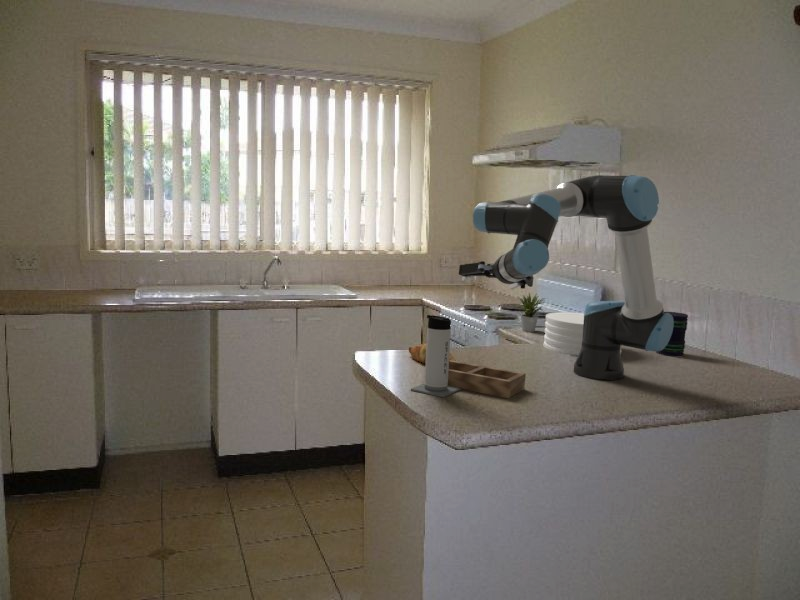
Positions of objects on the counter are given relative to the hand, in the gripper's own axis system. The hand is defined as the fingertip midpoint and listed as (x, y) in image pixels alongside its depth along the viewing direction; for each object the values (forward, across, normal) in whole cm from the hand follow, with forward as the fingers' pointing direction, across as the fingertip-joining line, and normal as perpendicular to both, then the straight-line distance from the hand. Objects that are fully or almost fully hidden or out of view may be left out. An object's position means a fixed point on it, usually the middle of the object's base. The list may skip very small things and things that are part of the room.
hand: (487, 280), depth 192 cm
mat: (+4, +10, +31) cm, 33 cm away
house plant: (+94, -46, -1) cm, 104 cm away
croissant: (+37, +5, +22) cm, 43 cm away
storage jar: (+56, -87, +4) cm, 104 cm away
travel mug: (+4, +10, +31) cm, 33 cm away
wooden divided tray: (+10, -3, +28) cm, 30 cm away
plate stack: (+62, -56, +7) cm, 84 cm away
